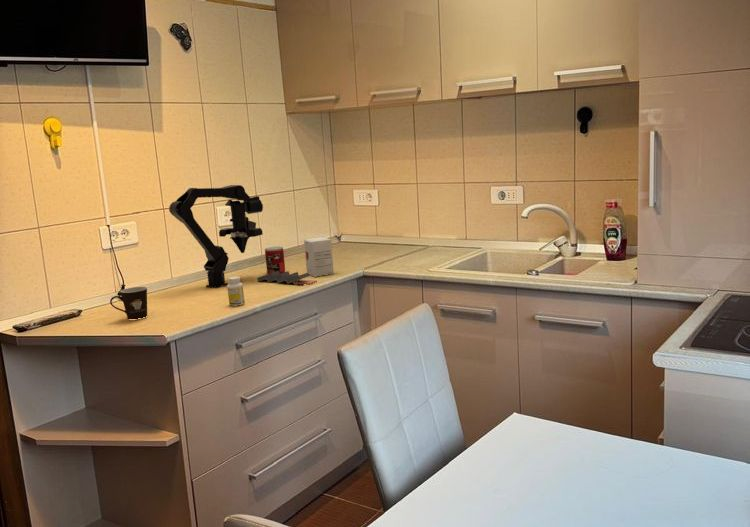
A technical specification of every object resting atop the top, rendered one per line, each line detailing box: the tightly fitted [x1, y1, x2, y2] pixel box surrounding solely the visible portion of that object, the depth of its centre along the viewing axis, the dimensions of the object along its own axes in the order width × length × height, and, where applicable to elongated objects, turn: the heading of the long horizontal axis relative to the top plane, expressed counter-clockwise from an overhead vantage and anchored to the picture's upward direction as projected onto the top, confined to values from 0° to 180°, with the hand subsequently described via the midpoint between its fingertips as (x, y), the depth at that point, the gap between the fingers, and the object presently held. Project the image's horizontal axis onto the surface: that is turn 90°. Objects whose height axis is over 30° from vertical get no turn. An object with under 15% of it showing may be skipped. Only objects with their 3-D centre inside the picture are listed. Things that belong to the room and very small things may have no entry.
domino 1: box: [256, 271, 280, 282], centre depth 286 cm, size 5×2×8 cm
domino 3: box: [275, 271, 300, 284], centre depth 280 cm, size 5×2×8 cm
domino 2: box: [266, 271, 291, 283], centre depth 284 cm, size 5×2×8 cm
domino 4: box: [285, 272, 310, 285], centre depth 277 cm, size 5×2×8 cm
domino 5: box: [292, 279, 318, 286], centre depth 277 cm, size 5×2×8 cm
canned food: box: [264, 245, 286, 274], centre depth 302 cm, size 8×8×11 cm
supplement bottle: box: [226, 276, 245, 307], centre depth 249 cm, size 5×5×10 cm
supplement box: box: [303, 236, 335, 278], centre depth 292 cm, size 9×9×15 cm
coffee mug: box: [109, 286, 148, 320], centre depth 239 cm, size 12×9×10 cm
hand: (242, 252), depth 290 cm, fingers closed
